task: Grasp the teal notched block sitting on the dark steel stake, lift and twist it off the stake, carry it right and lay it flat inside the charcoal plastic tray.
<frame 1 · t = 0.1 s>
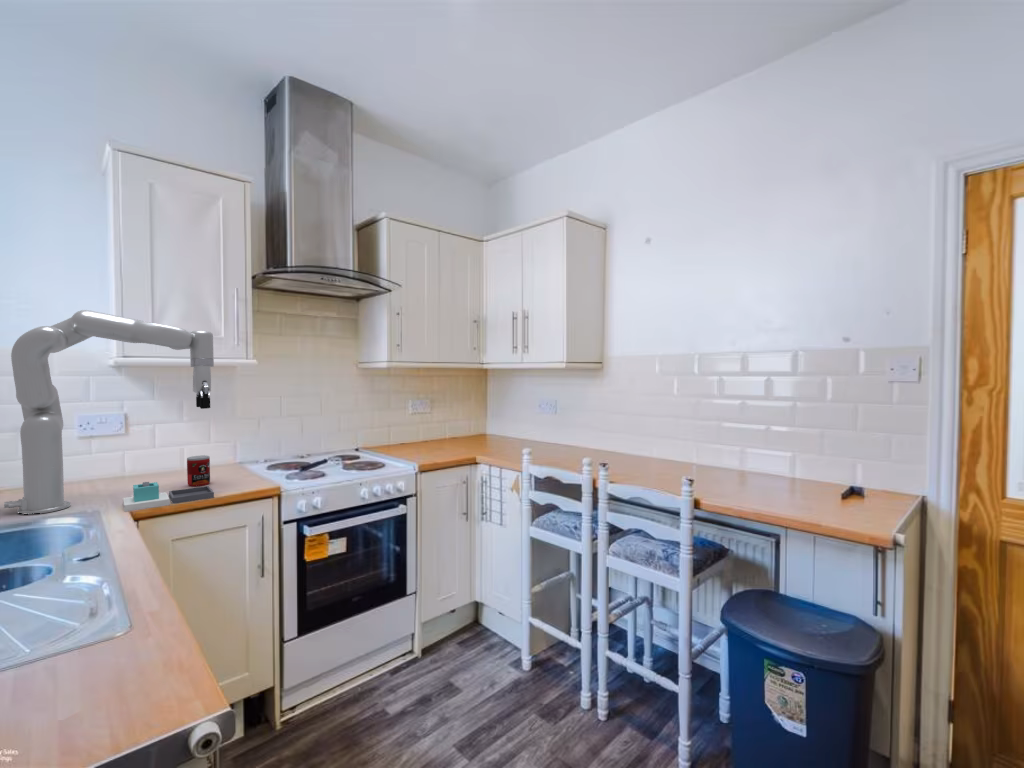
hand: (203, 407, 188), 31 cm above the countertop, fingers open, 9 cm apart
stake block: (146, 504, 166), on the countertop
tray: (191, 497, 175), on the countertop
canned food: (199, 484, 194), on the countertop
teal notched block: (146, 498, 166), point 2 cm above the countertop, touching stake block
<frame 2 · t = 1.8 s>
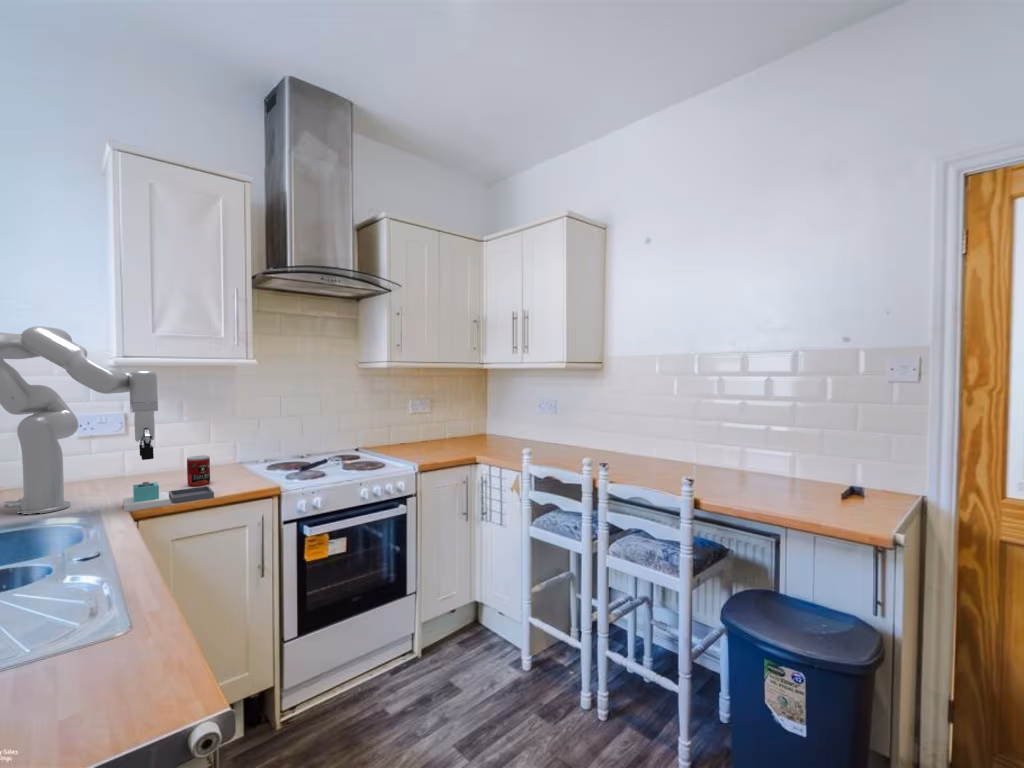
hand: (146, 457, 165), 16 cm above the countertop, fingers open, 9 cm apart
nothing on the countertop moved.
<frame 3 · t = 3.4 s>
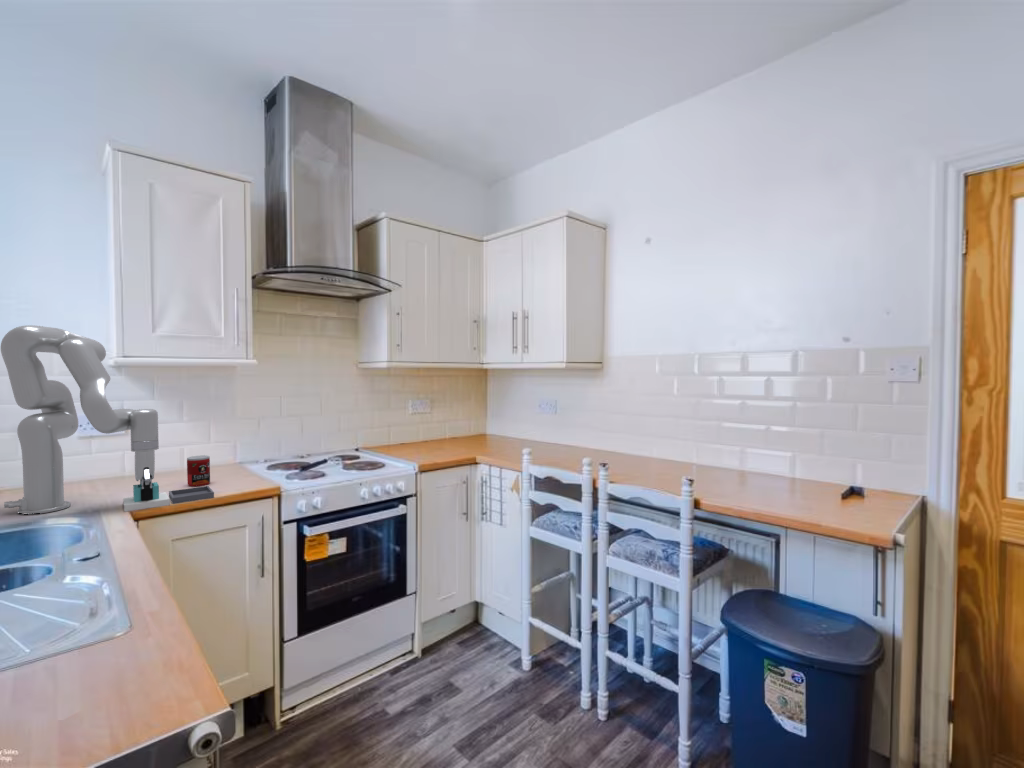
hand: (146, 497, 166), 2 cm above the countertop, fingers closed on teal notched block, 6 cm apart
teal notched block: (146, 498, 166), point 2 cm above the countertop, touching gripper, stake block
everything else where it was.
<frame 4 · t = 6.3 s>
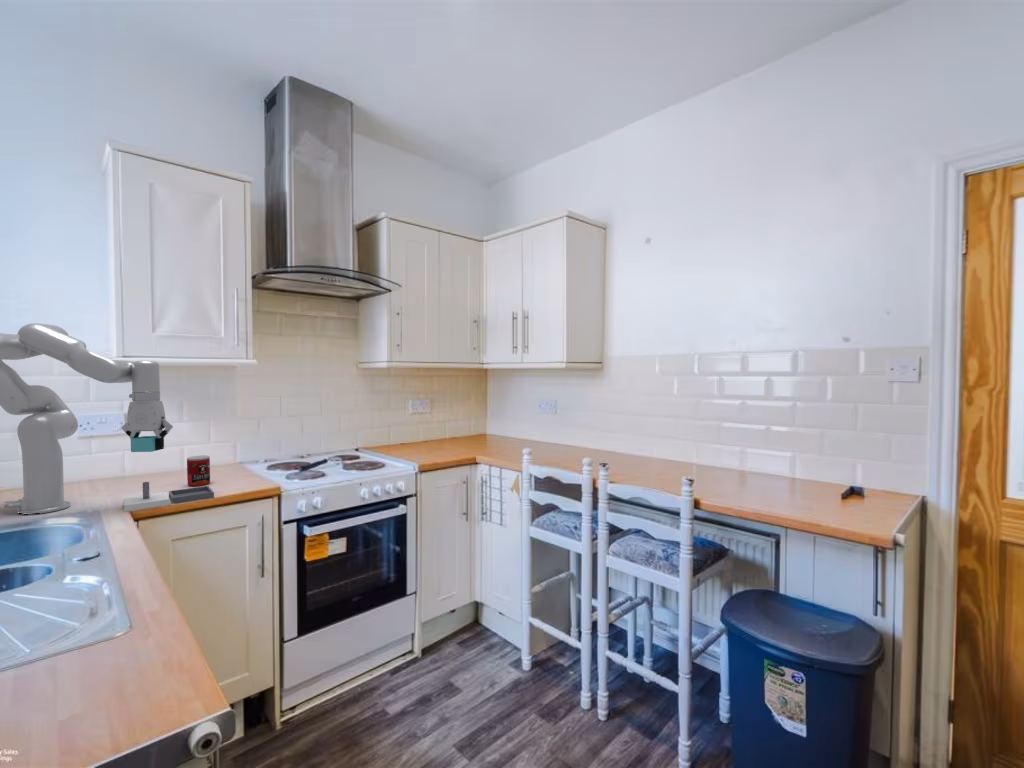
hand: (148, 449, 166), 19 cm above the countertop, fingers closed on teal notched block, 6 cm apart
teal notched block: (147, 450, 166), point 18 cm above the countertop, touching gripper
everything else where it was.
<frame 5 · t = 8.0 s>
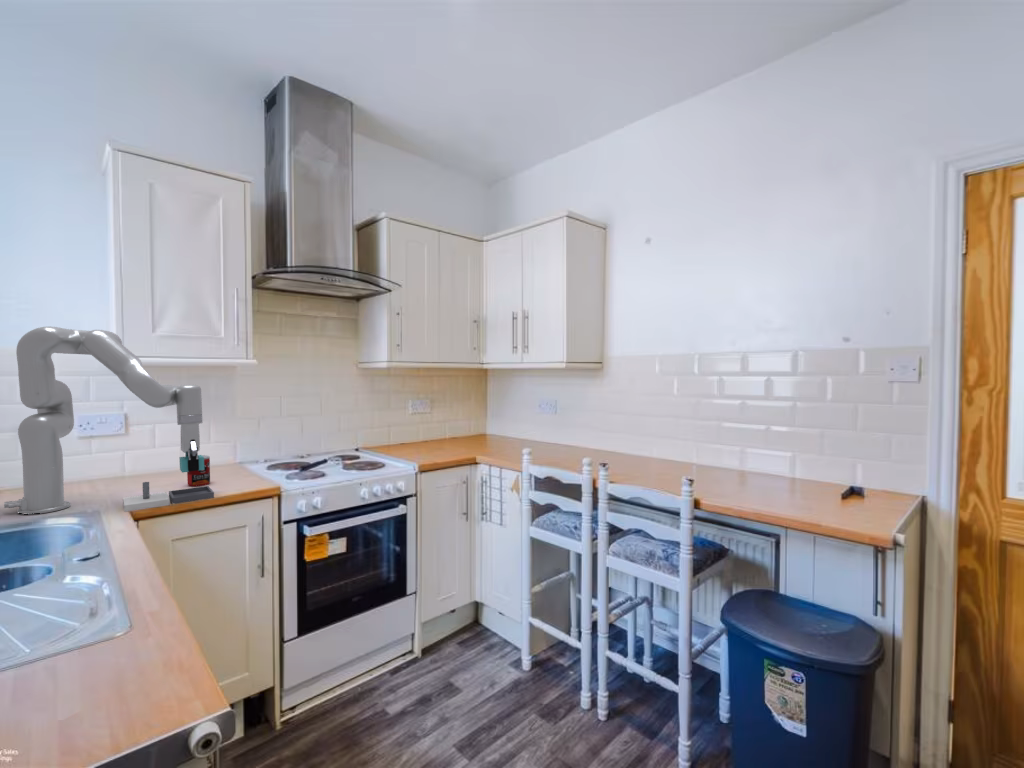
hand: (192, 468, 175), 10 cm above the countertop, fingers closed on teal notched block, 6 cm apart
teal notched block: (192, 469, 175), point 10 cm above the countertop, touching gripper
everything else where it was.
when the fingers open (2 cm above the countertop, at t = 9.3 s): teal notched block drops 2 cm, resting on tray.
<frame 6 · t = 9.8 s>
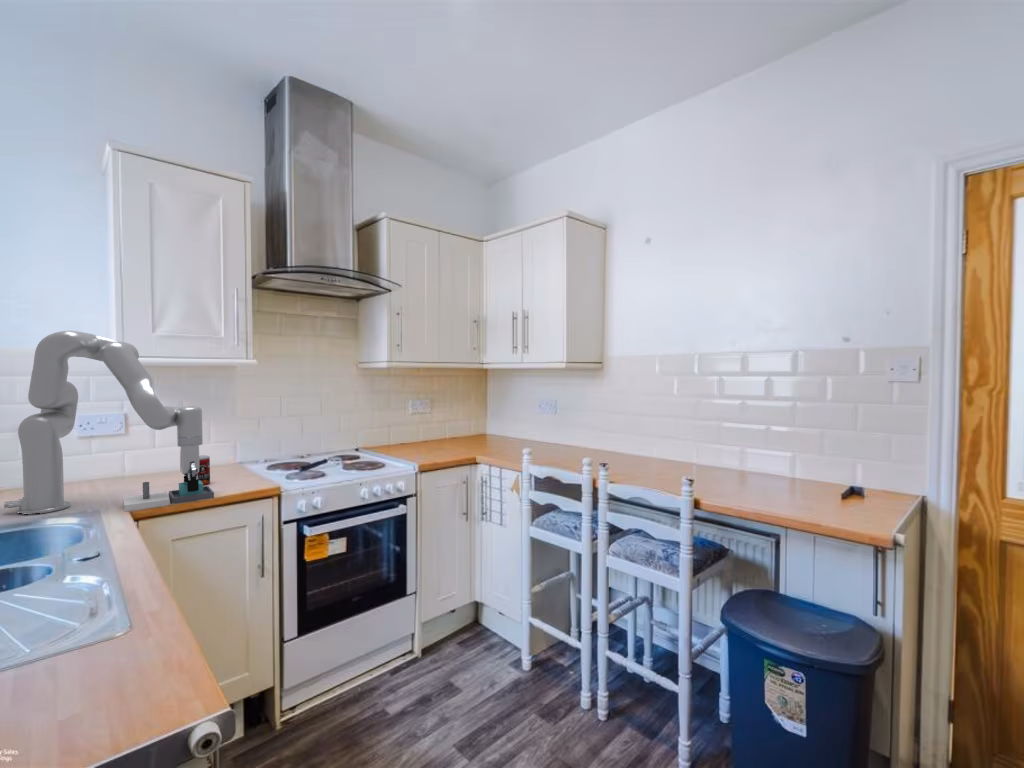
hand: (191, 488, 175), 3 cm above the countertop, fingers open, 9 cm apart
teal notched block: (191, 495, 175), resting on tray
everything else where it was.
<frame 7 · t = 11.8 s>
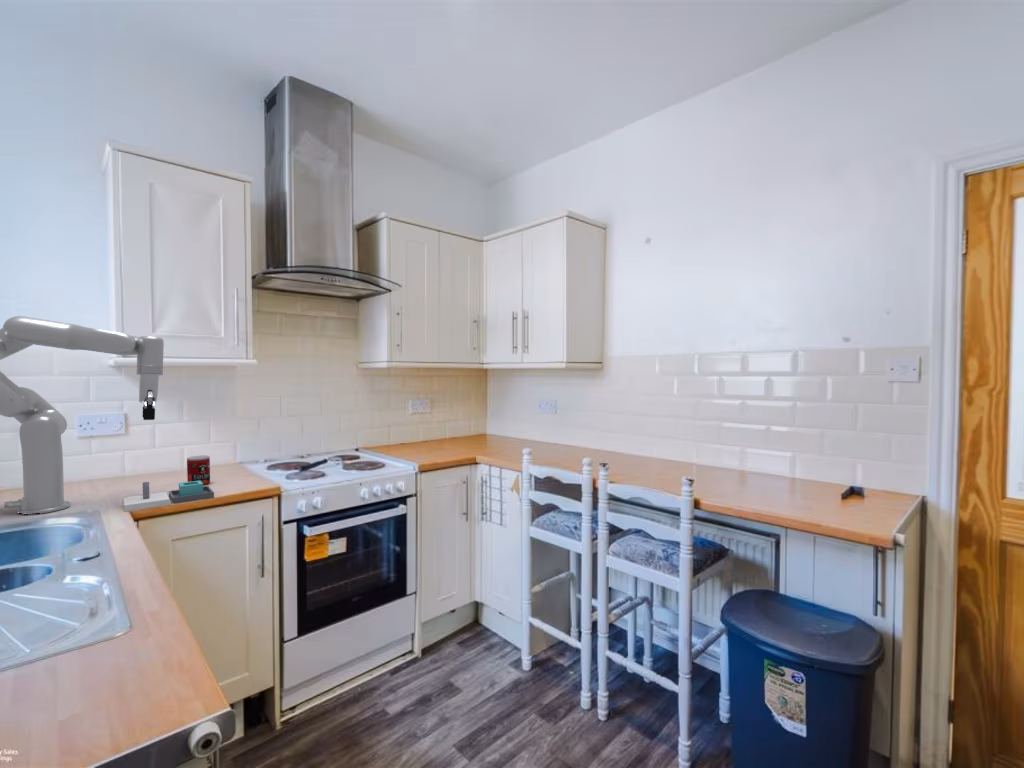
hand: (148, 418, 174), 28 cm above the countertop, fingers open, 9 cm apart
nothing on the countertop moved.
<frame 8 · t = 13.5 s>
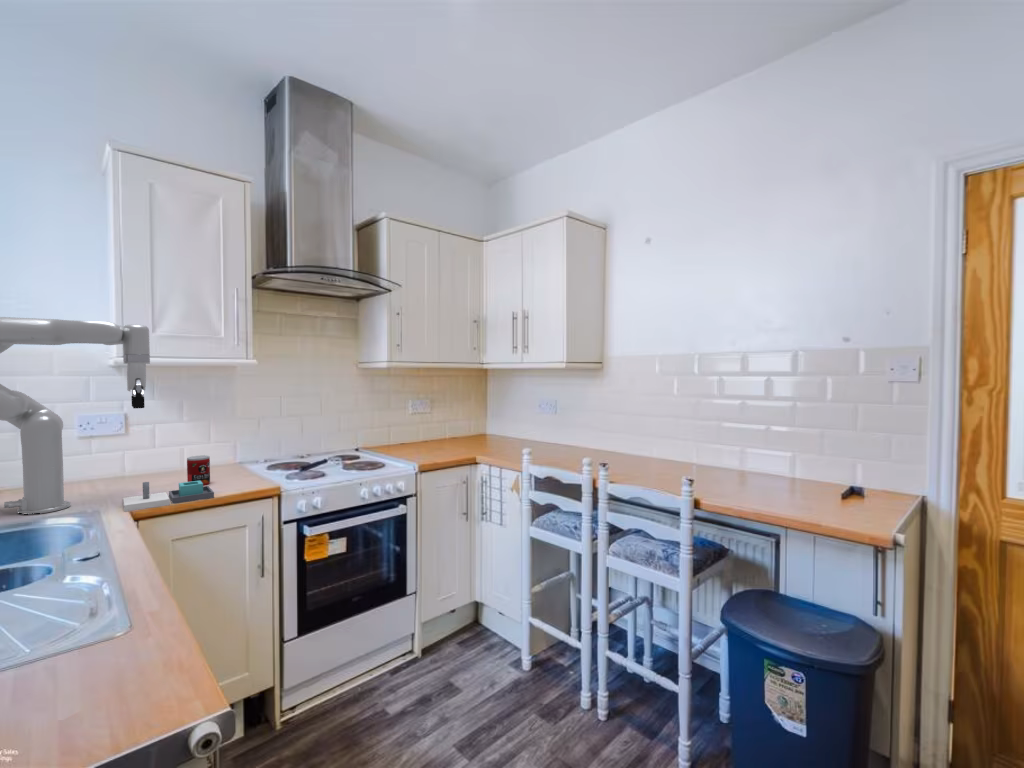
hand: (138, 407, 175), 32 cm above the countertop, fingers open, 9 cm apart
nothing on the countertop moved.
at the end: teal notched block inside the target area on the tray (0.1 cm from its centre), point 0.5 cm above the tray's base; teal notched block tilted 0°; the gripper is holding nothing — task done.
